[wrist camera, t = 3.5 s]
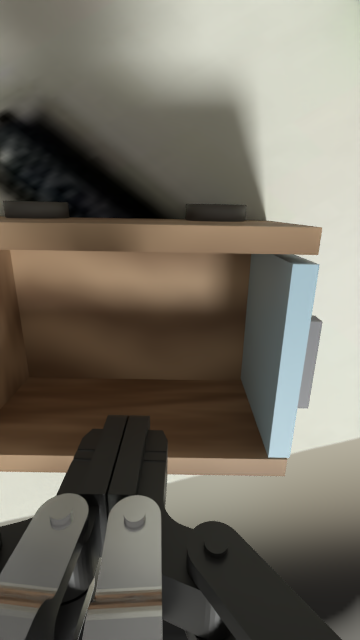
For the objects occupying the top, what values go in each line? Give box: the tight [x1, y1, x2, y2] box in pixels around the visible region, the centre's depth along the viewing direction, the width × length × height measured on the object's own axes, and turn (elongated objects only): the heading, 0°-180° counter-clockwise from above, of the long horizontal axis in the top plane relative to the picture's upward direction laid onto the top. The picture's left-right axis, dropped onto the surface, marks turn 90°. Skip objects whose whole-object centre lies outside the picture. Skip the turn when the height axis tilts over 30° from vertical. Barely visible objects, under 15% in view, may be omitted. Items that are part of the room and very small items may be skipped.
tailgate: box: [241, 254, 322, 458], centre depth 21 cm, size 11×2×9 cm, turn 179°
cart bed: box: [0, 201, 322, 476], centre depth 21 cm, size 16×20×10 cm
